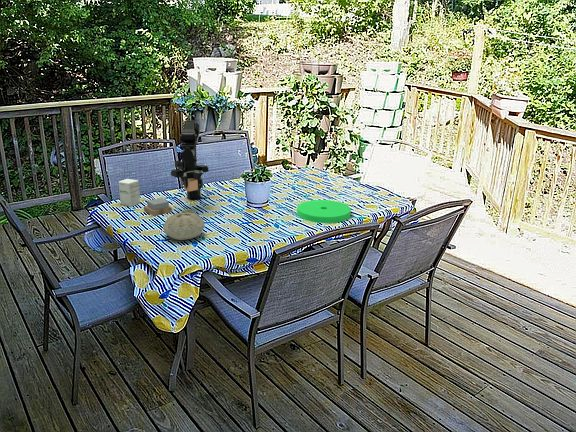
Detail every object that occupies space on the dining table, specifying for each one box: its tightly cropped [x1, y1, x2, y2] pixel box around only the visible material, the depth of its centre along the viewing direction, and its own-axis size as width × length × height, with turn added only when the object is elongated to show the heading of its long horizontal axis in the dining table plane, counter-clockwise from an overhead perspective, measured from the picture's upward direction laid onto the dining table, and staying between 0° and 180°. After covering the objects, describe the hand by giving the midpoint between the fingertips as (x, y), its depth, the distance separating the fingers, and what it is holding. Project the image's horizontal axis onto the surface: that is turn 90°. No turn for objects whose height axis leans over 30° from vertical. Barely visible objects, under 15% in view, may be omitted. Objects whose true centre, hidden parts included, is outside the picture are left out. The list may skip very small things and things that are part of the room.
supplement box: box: [118, 178, 141, 208], centre depth 262 cm, size 7×7×13 cm
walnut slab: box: [143, 205, 173, 217], centre depth 253 cm, size 10×10×3 cm
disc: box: [296, 199, 352, 224], centre depth 254 cm, size 27×27×3 cm
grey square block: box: [146, 197, 170, 210], centre depth 252 cm, size 8×8×3 cm
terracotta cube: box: [183, 178, 198, 192], centre depth 252 cm, size 5×5×5 cm
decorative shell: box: [163, 212, 205, 241], centre depth 222 cm, size 18×18×10 cm
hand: (190, 187), depth 253 cm, fingers closed on terracotta cube, 5 cm apart
